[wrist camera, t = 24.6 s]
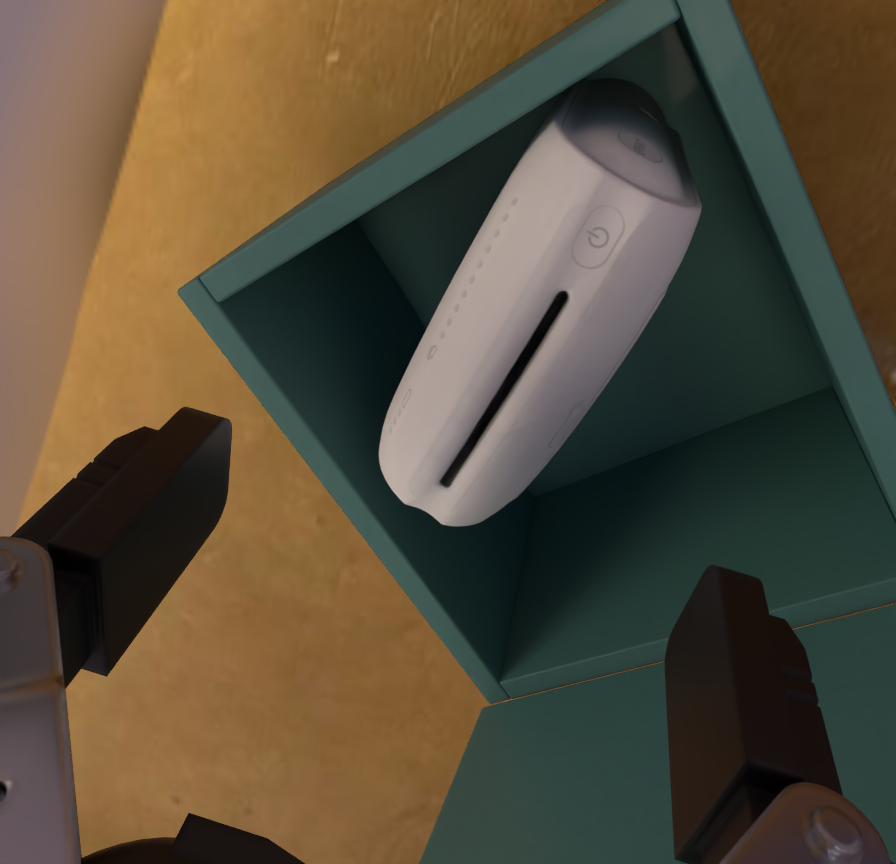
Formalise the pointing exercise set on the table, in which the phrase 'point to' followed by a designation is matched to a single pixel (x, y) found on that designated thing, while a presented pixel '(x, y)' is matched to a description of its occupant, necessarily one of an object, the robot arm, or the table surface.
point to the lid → (648, 759)
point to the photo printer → (542, 303)
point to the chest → (624, 397)
